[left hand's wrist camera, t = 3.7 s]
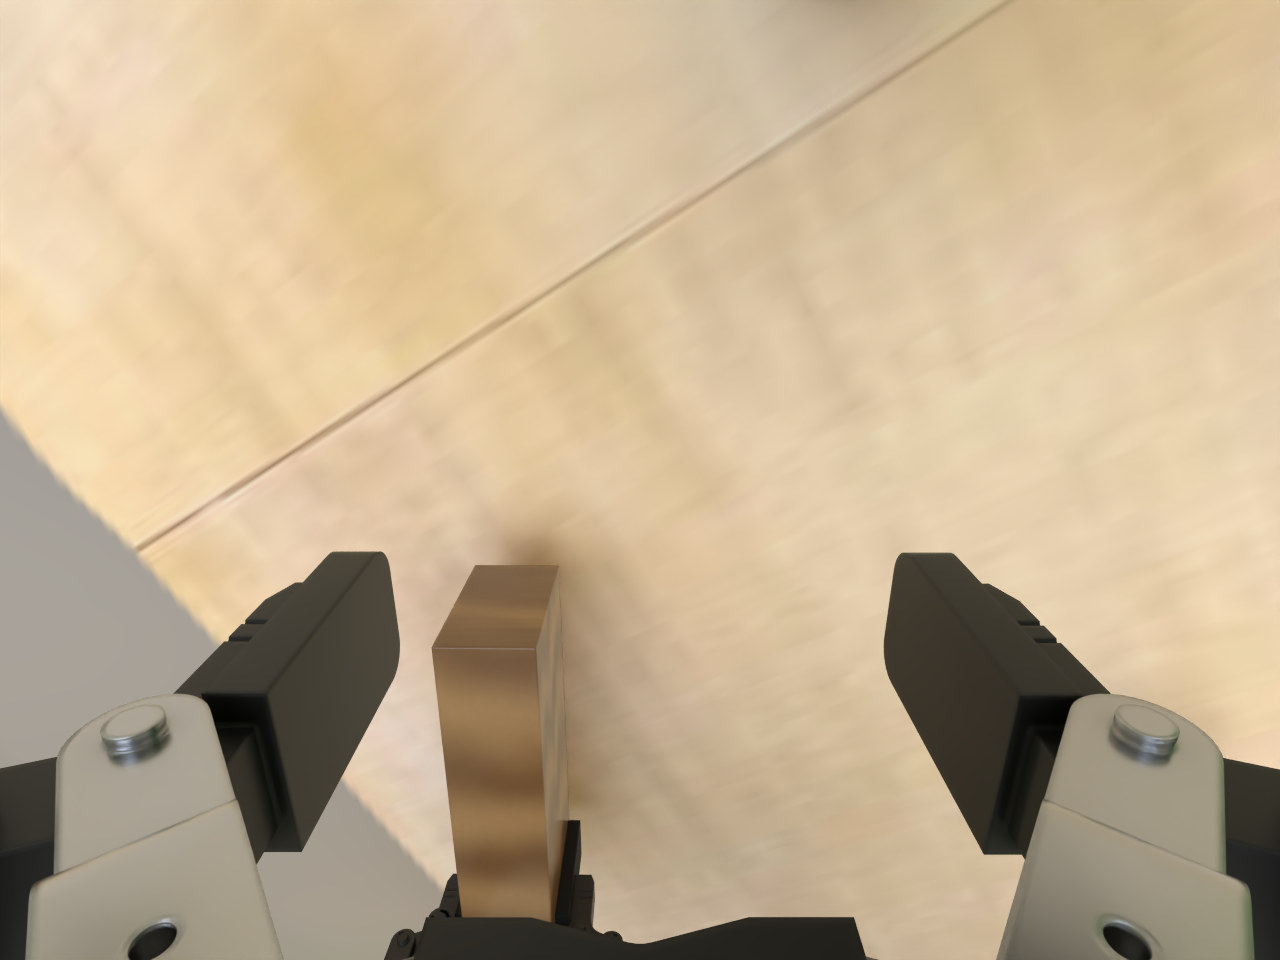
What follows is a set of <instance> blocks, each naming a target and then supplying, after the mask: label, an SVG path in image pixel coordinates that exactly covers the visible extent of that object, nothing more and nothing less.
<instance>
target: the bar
mask: <svg viewBox="0 0 1280 960" xmlns="http://www.w3.org/2000/svg"><path fill="white" fill-rule="evenodd" d="M432 654H433V663H434V672H435V681H436V690H437V699H438V708H439V717H440V726H441V735H442V744H443V753H444V762H445V771H446V780H447V788H448V797H449V806H450V815H451V824H452V833H453V842H454V851H455V860H456V869H457V878H458V887H459V896H460V905H461V914H462V917H532V918H536V919H540V920H543V921H547V922H551V923H555V911H556V904H557V897H558V890H559V883H560V876H561V868H562V861H563V854H564V847H565V840H566V833H567V826H568V820H569V798H568V774H567V750H566V726H565V702H564V678H563V654H562V630H561V606H560V582H559V567H558V566H513V565H476V566H475V567H474V569H473V570H472V572H471V574H470V576H469V578H468V580H467V582H466V584H465V586H464V587H463V589H462V591H461V593H460V595H459V597H458V599H457V601H456V603H455V604H454V606H453V608H452V610H451V612H450V614H449V616H448V618H447V620H446V621H445V623H444V625H443V627H442V629H441V631H440V633H439V635H438V636H437V638H436V640H435V642H434V644H433V646H432Z"/></svg>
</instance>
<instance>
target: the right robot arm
mask: <svg viewBox="0 0 1280 960" xmlns="http://www.w3.org/2000/svg"><path fill="white" fill-rule="evenodd" d="M580 861H581V831H580V820H568V826H567V833H566V840H565V847H564V854H563V861H562V868H561V876H560V883H559V890H558V897H557V904H556V911H555V924H559V925H563V926H567V927H570V928H574V929H578V930H582V931H586V932H590V933H593V934H597V935H601V936H605V937H609V938H613V939H617V940H620V941H623V940H622V937H621V935H620V934H619V933H617V932H615V931H608V932H606V933H604V934H602V933H599V932H597V931H596V930H595V929H594V928H593V915H594V903H595V892H594V880H593V878H592V875H579V870H580ZM429 917H462V914H461V905H460V896H459V887H458V878H457V874H453V875H452V876H451V877H450V879H449V880H448V881H447V884H446V888H445V891H444V894H443V898H442V900H441V904H440V907H439V908H437V909H435V910H434V911H432V912H431V914H430V915H429ZM421 933H422V931H420V932H417V933H414V932H413V931H412V930H410V929H403V930H400V931H398V932H397V933H396V934H395V935H394V936H393V938H392V940H391V942H390V945H389V948H388V951H387V953H386V956H385V959H384V960H403V959H407V958H410V957H414V956H415V953H416V949H417V946H418V943H419V939H420V936H421Z"/></svg>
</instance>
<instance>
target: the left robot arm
mask: <svg viewBox="0 0 1280 960" xmlns="http://www.w3.org/2000/svg"><path fill="white" fill-rule="evenodd" d="M399 654H400V639H399V631H398V623H397V616H396V609H395V602H394V595H393V588H392V580H391V573H390V567H389V563H388V559H387V557H386V555H385V554H384V553H383V552H332V553H330V554H329V555H328V556H327V557H326V558H325V559H324V560H323V561H322V562H321V563H320V564H319V566H318V567H317V568H316V569H315V570H314V571H313V572H312V573H311V574H310V575H309V576H308V578H307V579H306V580H305V581H304V582H303V583H294V584H292V585H290V586H289V587H287V588H285V589H283V590H282V591H280V592H278V593H276V594H275V595H273V596H271V597H269V598H268V599H266V600H265V601H264V602H263V603H262V604H261V605H260V606H259V607H258V608H257V609H256V610H255V611H254V612H253V613H252V614H251V615H250V616H249V617H248V618H247V619H246V620H245V624H241V625H240V626H239V627H238V628H237V629H236V630H235V631H234V632H233V633H232V634H231V635H230V636H229V641H228V642H223V644H222V645H221V646H220V647H219V648H218V649H217V650H216V651H215V652H214V653H213V654H212V655H211V656H210V657H209V658H208V659H207V660H206V661H205V662H204V663H203V664H202V665H201V666H200V667H199V668H198V669H197V670H196V671H195V672H194V673H193V674H192V675H191V676H190V677H189V678H188V679H187V680H186V681H185V682H184V683H183V684H182V685H181V686H180V688H179V689H178V690H177V691H176V692H175V693H174V694H165V695H157V696H152V697H147V698H143V699H140V700H136V701H133V702H130V703H127V704H124V705H122V706H119V707H117V708H115V709H112V710H110V711H108V712H106V713H104V714H102V715H100V716H98V717H97V718H95V719H93V720H92V721H90V722H89V723H87V724H86V725H84V726H83V727H82V728H80V729H79V730H78V731H76V732H75V733H74V734H73V735H72V736H71V737H70V738H69V739H68V740H67V741H66V743H65V744H64V745H63V746H62V748H61V750H60V752H59V754H58V756H57V757H55V758H50V759H45V760H40V761H35V762H30V763H25V764H20V765H16V766H11V767H6V768H1V769H0V960H284V959H283V955H282V952H281V948H280V945H279V942H278V938H277V934H276V931H275V928H274V924H273V921H272V917H271V914H270V910H269V907H268V903H267V900H266V897H265V893H264V890H263V886H262V883H261V879H260V876H259V872H258V869H257V863H258V861H259V860H260V858H261V856H262V854H263V853H264V852H302V850H303V848H304V846H305V844H306V843H307V841H308V839H309V837H310V835H311V833H312V831H313V829H314V827H315V826H316V824H317V822H318V820H319V818H320V816H321V814H322V813H323V811H324V809H325V807H326V805H327V803H328V801H329V799H330V798H331V796H332V794H333V792H334V790H335V788H336V786H337V784H338V782H339V781H340V779H341V777H342V775H343V773H344V771H345V769H346V768H347V766H348V764H349V762H350V760H351V758H352V756H353V754H354V752H355V751H356V749H357V747H358V745H359V743H360V741H361V739H362V737H363V736H364V734H365V732H366V730H367V728H368V726H369V724H370V722H371V721H372V719H373V717H374V715H375V713H376V711H377V709H378V707H379V706H380V704H381V702H382V700H383V698H384V696H385V694H386V692H387V691H388V689H389V687H390V685H391V683H392V681H393V679H394V677H395V674H396V671H397V667H398V662H399ZM884 659H885V665H886V670H887V673H888V676H889V679H890V681H891V683H892V685H893V687H894V688H895V690H896V692H897V694H898V696H899V698H900V700H901V701H902V703H903V705H904V707H905V709H906V711H907V713H908V714H909V716H910V718H911V720H912V722H913V724H914V726H915V727H916V729H917V731H918V733H919V735H920V737H921V739H922V740H923V742H924V744H925V746H926V748H927V750H928V752H929V753H930V755H931V757H932V759H933V761H934V763H935V765H936V766H937V768H938V770H939V772H940V774H941V776H942V778H943V779H944V781H945V783H946V785H947V787H948V789H949V791H950V792H951V794H952V796H953V798H954V800H955V802H956V803H957V805H958V807H959V809H960V811H961V813H962V815H963V816H964V818H965V820H966V822H967V824H968V826H969V828H970V829H971V831H972V833H973V835H974V837H975V839H976V841H977V842H978V844H979V846H980V848H981V850H982V852H983V854H984V855H1023V857H1024V859H1025V862H1024V865H1023V869H1022V872H1021V876H1020V879H1019V883H1018V886H1017V890H1016V893H1015V896H1014V900H1013V903H1012V907H1011V910H1010V914H1009V917H1008V921H1007V924H1006V928H1005V931H1004V934H1003V938H1002V941H1001V945H1000V948H999V952H998V955H997V959H996V960H1280V770H1279V769H1274V768H1269V767H1264V766H1259V765H1255V764H1250V763H1245V762H1240V761H1235V760H1230V759H1226V758H1223V756H1222V754H1221V752H1220V750H1219V748H1218V746H1217V745H1216V744H1215V743H1214V741H1213V740H1212V739H1211V738H1210V737H1209V736H1208V735H1207V734H1206V733H1205V732H1204V731H1202V730H1201V729H1200V728H1198V727H1197V726H1196V725H1194V724H1193V723H1191V722H1190V721H1188V720H1187V719H1185V718H1183V717H1182V716H1180V715H1178V714H1176V713H1174V712H1172V711H1170V710H1168V709H1165V708H1163V707H1161V706H1158V705H1156V704H1153V703H1150V702H1147V701H1144V700H1140V699H1137V698H1133V697H1128V696H1123V695H1115V694H1111V693H1110V692H1109V691H1108V690H1107V689H1106V688H1105V687H1104V686H1103V685H1102V684H1101V683H1100V682H1099V681H1098V680H1097V679H1096V678H1095V677H1094V676H1093V675H1092V674H1091V673H1090V672H1089V671H1088V670H1087V669H1086V668H1085V667H1084V666H1083V665H1082V664H1081V663H1080V662H1079V661H1078V660H1077V659H1076V658H1075V657H1074V656H1073V655H1072V654H1071V653H1070V652H1069V651H1068V650H1067V649H1066V648H1065V647H1064V646H1063V645H1062V644H1061V643H1057V641H1056V638H1055V637H1054V636H1053V635H1052V634H1051V633H1050V632H1049V631H1048V630H1047V629H1046V628H1045V626H1040V621H1039V620H1038V619H1037V618H1036V617H1035V616H1034V615H1033V614H1032V613H1031V612H1030V611H1029V610H1028V609H1027V608H1026V607H1025V606H1024V605H1023V604H1022V603H1021V602H1020V601H1018V600H1017V599H1015V598H1013V597H1011V596H1010V595H1008V594H1006V593H1004V592H1002V591H1001V590H999V589H997V588H995V587H994V586H992V585H990V584H982V583H981V582H980V581H979V580H978V579H977V578H976V577H975V576H974V575H973V574H972V573H971V572H970V571H969V569H968V568H967V567H966V566H965V565H964V564H963V563H962V562H961V561H960V560H959V559H958V558H957V557H956V556H955V555H954V554H952V553H901V554H900V555H899V556H898V558H897V560H896V563H895V567H894V573H893V580H892V587H891V594H890V601H889V608H888V616H887V623H886V630H885V637H884ZM403 960H877V959H873V958H870V957H866V956H865V953H864V949H863V946H862V943H861V939H860V936H859V933H858V930H857V926H856V923H855V920H854V917H748V918H744V919H740V920H737V921H733V922H729V923H725V924H721V925H717V926H713V927H710V928H706V929H702V930H698V931H694V932H690V933H687V934H683V935H679V936H675V937H671V938H667V939H663V940H660V941H656V942H652V943H646V944H634V943H628V942H624V941H620V940H617V939H613V938H609V937H605V936H601V935H597V934H593V933H590V932H586V931H582V930H578V929H574V928H570V927H567V926H563V925H559V924H555V923H551V922H547V921H543V920H540V919H536V918H532V917H426V920H425V923H424V926H423V930H422V933H421V936H420V939H419V943H418V946H417V949H416V953H415V956H414V957H410V958H407V959H403Z"/></svg>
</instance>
